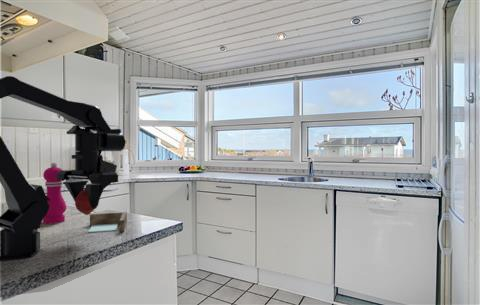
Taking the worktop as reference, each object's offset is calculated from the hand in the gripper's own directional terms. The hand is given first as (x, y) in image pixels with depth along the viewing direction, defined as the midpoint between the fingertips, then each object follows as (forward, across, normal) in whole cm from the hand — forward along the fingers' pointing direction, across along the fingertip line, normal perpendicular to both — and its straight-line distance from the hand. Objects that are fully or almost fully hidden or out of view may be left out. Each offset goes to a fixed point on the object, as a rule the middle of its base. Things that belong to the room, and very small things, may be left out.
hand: (86, 207), depth 79 cm
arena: (+8, +3, -8) cm, 12 cm away
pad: (+8, +4, -8) cm, 13 cm away
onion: (+2, 0, 0) cm, 2 cm away
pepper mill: (+9, +26, -6) cm, 28 cm away
